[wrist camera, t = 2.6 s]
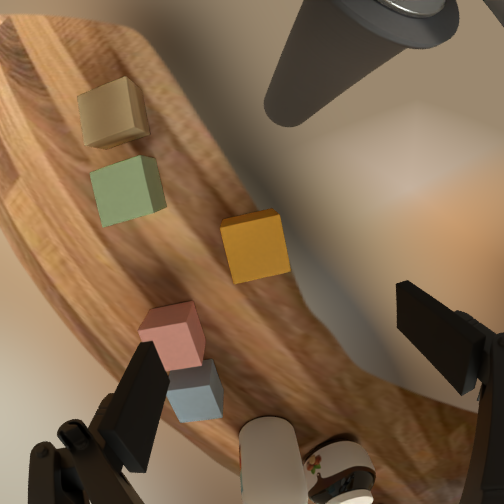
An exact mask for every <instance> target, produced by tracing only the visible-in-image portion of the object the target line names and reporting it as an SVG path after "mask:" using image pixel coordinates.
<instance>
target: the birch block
mask: <svg viewBox="0 0 504 504" xmlns="http://www.w3.org/2000/svg"><path fill="white" fill-rule="evenodd" d="M77 98H78V107H79V114H80V121H81V128H82V134H83V141H84V146H89V147H94V148H100V149H106V150H107V149H109V148H112V147H115V146H118V145H120V144H123V143H126V142H129V141H132V140H135V139H138V138H141V137H144V136H147V135H150V130H149V125H148V120H147V115H146V110H145V105H144V99H143V93H142V90H141V89H140V88H139V87H138V86H136V85H135V84H134V83H133V82H132V81H131V80H130V79H129V78H127V77H126V76H125V77H122V78H119V79H117V80H114V81H112V82H109V83H107V84H104V85H102V86H100V87H97V88H95V89H92V90H90V91H88V92H86V93H83V94H81V95H79V96H77Z"/></svg>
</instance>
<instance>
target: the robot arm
mask: <svg viewBox="0 0 504 504" xmlns="http://www.w3.org/2000/svg"><path fill="white" fill-rule="evenodd" d="M373 1H375V2H376V3H378V4H379V5H381V6H383V7H384V8H386V9H388V10H390V11H392V12H394V13H397V14H399V15H402V16H405V17H409V18H413V19H426V18H430V17H432V16H433V15H435V14H436V13H438V12H439V11H441V10H442V9H443V7H444V5H445V3H446V0H373ZM483 1H484V2H485V4H486V5H487V6H488V7H489V9H490V10H491V11H492V12H493V14H494V15H495V16H496V18H497V19H498V20H499V22H500V23H501V24H502V26H503V27H504V0H483ZM396 300H397V328H398V329H399V330H400V331H401V332H402V333H403V334H404V335H405V336H406V337H407V338H408V339H409V340H410V341H411V343H412V344H413V345H414V346H415V347H416V348H417V349H418V350H419V351H420V352H421V353H422V354H423V355H424V356H425V357H426V358H427V359H428V360H429V361H430V362H431V363H432V365H433V366H434V367H435V368H436V369H437V370H438V371H439V372H440V373H441V374H442V375H443V376H444V377H445V379H447V381H448V382H449V383H450V384H451V385H452V386H453V387H454V388H455V389H456V391H457V392H458V393H459V394H460V395H461V396H462V395H464V394H466V393H468V392H469V391H471V390H473V389H474V388H475V385H476V381H477V378H478V379H479V380H480V381H481V382H482V385H481V388H480V392H479V395H478V398H477V401H479V410H478V419H477V426H476V433H475V439H474V445H473V451H472V456H471V461H470V465H469V470H468V474H467V478H466V482H465V486H464V490H463V493H462V497H461V500H460V503H459V504H504V333H499V334H496V333H494V332H493V331H491V330H490V329H488V328H487V327H486V326H484V325H483V324H481V323H479V322H478V321H477V320H476V319H473V317H472V316H470V315H469V314H467V313H465V312H462V311H458V310H457V311H455V312H453V311H452V310H450V309H449V308H448V307H446V306H445V305H443V304H442V303H440V302H439V301H437V300H436V299H435V298H433V297H432V296H430V295H429V294H427V293H426V292H424V291H423V290H422V289H420V288H418V287H417V286H416V285H414V284H413V283H411V282H409V281H408V280H407V281H403V282H400V283H397V284H396ZM169 384H170V379H169V377H168V375H167V373H166V371H165V368H164V366H163V364H162V361H161V359H160V357H159V354H158V352H157V350H156V347H155V345H154V342H153V341H147V342H140V344H139V345H138V347H137V349H136V351H135V353H134V355H133V357H132V359H131V361H130V363H129V365H128V367H127V369H126V371H125V373H124V375H123V377H122V378H121V380H120V382H119V384H118V386H117V389H116V391H115V393H110V394H108V395H107V396H106V397H105V398H104V399H103V400H102V402H101V403H100V405H99V409H97V411H96V413H95V414H96V415H94V418H93V419H92V421H91V423H90V425H89V427H88V428H87V427H86V425H85V424H84V423H83V422H82V420H79V419H72V420H69V421H67V422H65V423H64V424H62V425H61V427H60V428H59V429H58V432H57V436H58V438H59V439H60V440H61V442H62V443H63V444H64V445H65V448H60V449H56V448H55V447H54V446H53V445H52V444H51V442H47V441H46V442H41V443H38V444H37V445H36V446H34V448H33V449H32V451H31V454H30V464H29V481H28V504H90V502H91V503H92V504H144V502H143V501H142V500H141V499H140V497H139V495H138V494H137V493H136V491H135V490H134V488H133V487H132V485H131V484H130V483H129V481H128V480H127V478H126V477H125V475H124V474H123V473H122V472H121V470H122V467H123V465H124V466H125V467H126V468H127V470H128V471H129V472H135V473H146V471H147V466H148V462H149V458H150V454H151V450H152V446H153V443H154V439H155V435H156V431H157V427H158V424H159V420H160V416H161V412H162V409H163V405H164V401H165V398H166V394H167V391H168V387H169ZM479 399H480V400H479ZM89 500H90V502H89Z"/></svg>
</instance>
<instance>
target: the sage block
mask: <svg viewBox="0 0 504 504" xmlns="http://www.w3.org/2000/svg"><path fill="white" fill-rule="evenodd" d="M90 177H91V182H92V186H93V191H94V195H95V199H96V203H97V207H98V211H99V215H100V219H101V223H102V227H103V228H104V227H107V226H110V225H114V224H117V223H120V222H124V221H127V220H131V219H134V218H138V217H141V216H145V215H148V214H152V213H155V212H157V211H159V210H161V209H164V208H166V207H167V205H166V201H165V197H164V193H163V189H162V185H161V181H160V176H159V172H158V168H157V163H156V159H155V158H151V157H146V156H142V155H139V156H136V157H133V158H130V159H127V160H124V161H121V162H118V163H115V164H112V165H109V166H106V167H104V168H101V169H98V170H96V171H93V172H90Z"/></svg>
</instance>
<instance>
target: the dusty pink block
mask: <svg viewBox="0 0 504 504" xmlns="http://www.w3.org/2000/svg"><path fill="white" fill-rule="evenodd" d="M138 333H139V335H140V338H141V340H142V342H147V341H153V342H154V345H155V347H156V350H157V352H158V354H159V357H160V359H161V361H162V364H163V366H164V368H165V371H171V370H178V369H184V368H191V367H197V366H202V362H203V356H204V350H205V343H206V339H205V336H204V333H203V330H202V327H201V324H200V321H199V318H198V315H197V311H196V308H195V305H194V302H193V301H189V302H184V303H179V304H174V305H169V306H164V307H159V308H154V309H150V311H149V312H148V314H147V316H146V317H145V319H144V321H143V322H142V324H141V326H140V327H139V329H138Z"/></svg>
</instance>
